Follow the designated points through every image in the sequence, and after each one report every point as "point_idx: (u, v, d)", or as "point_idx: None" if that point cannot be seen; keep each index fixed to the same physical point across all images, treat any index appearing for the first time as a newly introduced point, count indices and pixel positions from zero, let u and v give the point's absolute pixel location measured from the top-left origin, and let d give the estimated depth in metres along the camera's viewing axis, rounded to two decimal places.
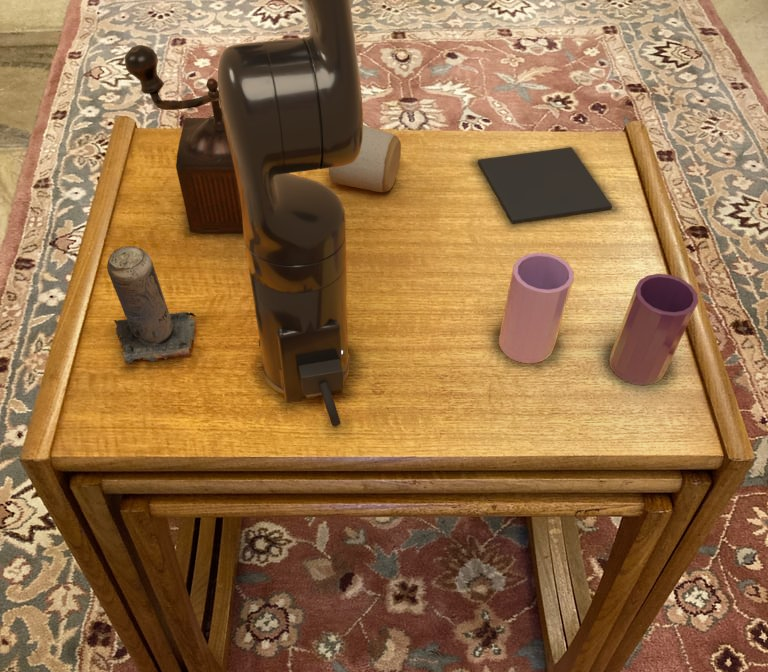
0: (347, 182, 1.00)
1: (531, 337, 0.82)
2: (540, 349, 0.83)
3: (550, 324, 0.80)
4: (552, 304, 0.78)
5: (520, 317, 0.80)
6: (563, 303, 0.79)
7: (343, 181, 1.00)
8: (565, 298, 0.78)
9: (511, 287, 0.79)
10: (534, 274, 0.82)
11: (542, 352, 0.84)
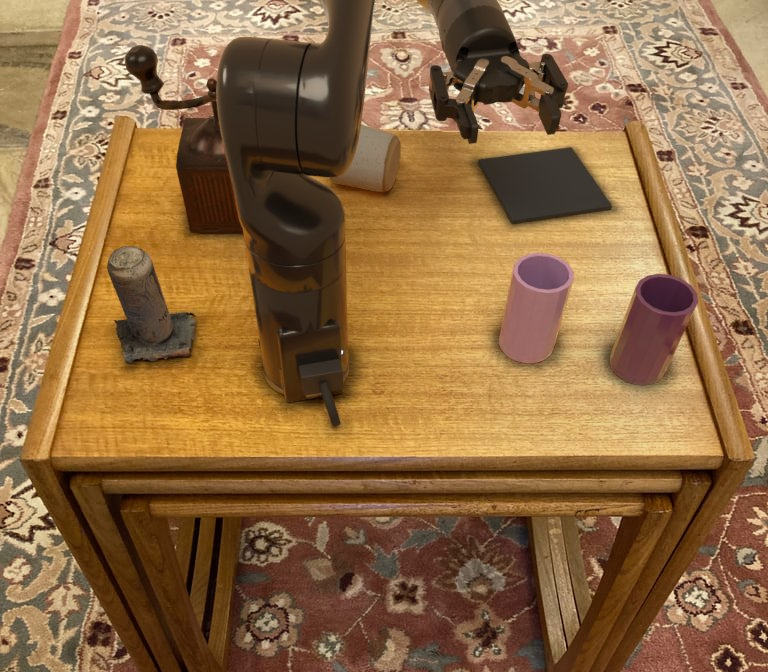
0: (347, 182, 1.00)
1: (531, 337, 0.82)
2: (540, 349, 0.83)
3: (550, 324, 0.80)
4: (552, 304, 0.78)
5: (520, 317, 0.80)
6: (563, 303, 0.79)
7: (343, 181, 1.00)
8: (565, 298, 0.78)
9: (511, 287, 0.79)
10: (534, 274, 0.82)
11: (542, 352, 0.84)
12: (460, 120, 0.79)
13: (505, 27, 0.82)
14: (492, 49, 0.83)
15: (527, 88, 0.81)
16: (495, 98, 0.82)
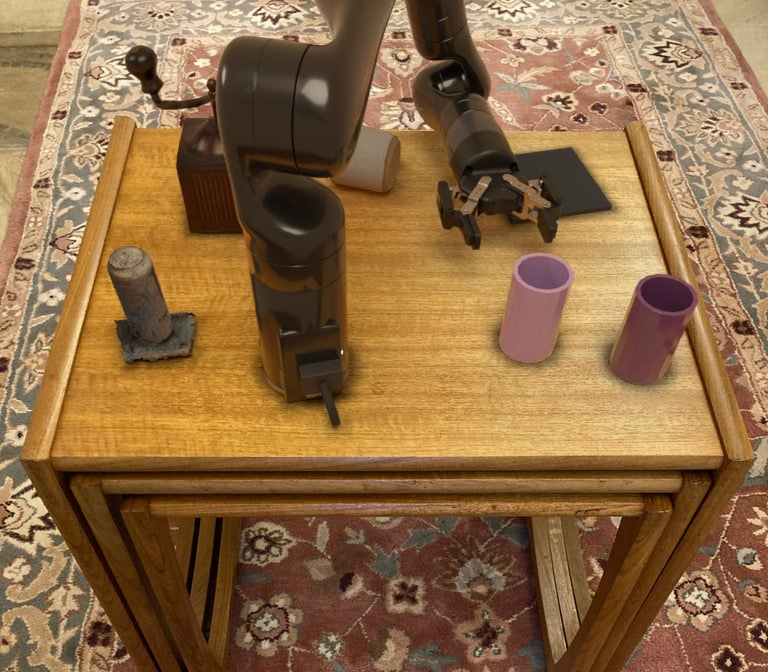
0: (347, 182, 1.00)
1: (531, 337, 0.82)
2: (540, 349, 0.83)
3: (550, 324, 0.80)
4: (552, 304, 0.78)
5: (520, 317, 0.80)
6: (563, 303, 0.79)
7: (343, 181, 1.00)
8: (565, 298, 0.78)
9: (511, 287, 0.79)
10: (534, 274, 0.82)
11: (542, 352, 0.84)
12: (464, 229, 0.86)
13: (506, 149, 0.90)
14: (495, 167, 0.91)
15: (526, 202, 0.89)
16: (497, 210, 0.89)
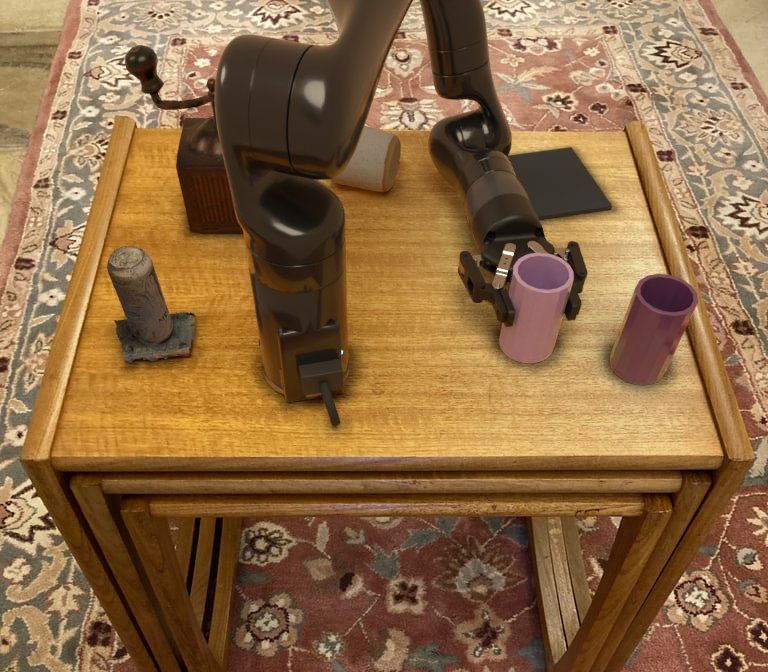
0: (347, 182, 1.00)
1: (531, 337, 0.82)
2: (540, 349, 0.83)
3: (550, 324, 0.80)
4: (552, 304, 0.78)
5: (520, 317, 0.80)
6: (563, 303, 0.79)
7: (343, 181, 1.00)
8: (565, 298, 0.78)
9: (511, 287, 0.79)
10: (534, 274, 0.82)
11: (542, 352, 0.84)
12: (496, 305, 0.80)
13: (531, 214, 0.85)
14: (519, 233, 0.85)
15: None
16: None
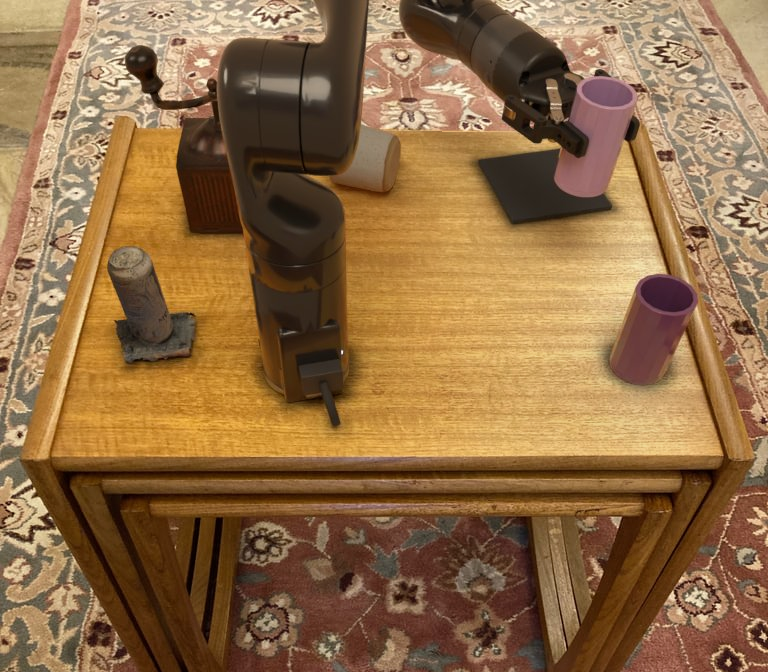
0: (347, 182, 1.00)
1: (600, 165, 0.81)
2: (606, 178, 0.83)
3: (618, 146, 0.81)
4: (624, 122, 0.78)
5: (591, 145, 0.80)
6: None
7: (343, 181, 1.00)
8: None
9: (578, 115, 0.78)
10: None
11: (606, 181, 0.84)
12: (565, 137, 0.79)
13: None
14: (549, 70, 0.84)
15: None
16: (567, 114, 0.83)
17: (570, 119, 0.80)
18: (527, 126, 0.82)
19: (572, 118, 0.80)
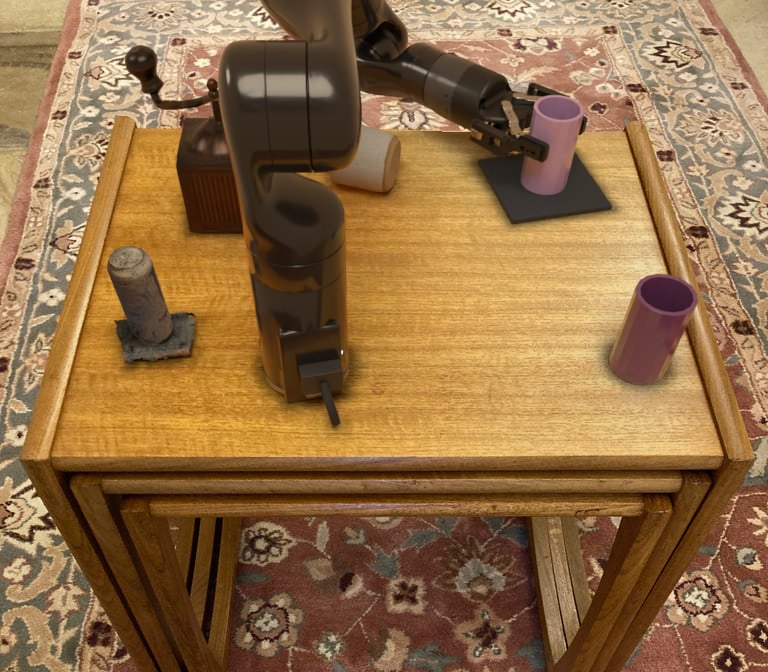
0: (347, 182, 1.00)
1: (563, 166, 0.98)
2: (567, 175, 1.00)
3: (574, 149, 0.98)
4: (578, 129, 0.95)
5: (555, 152, 0.96)
6: None
7: (343, 181, 1.00)
8: None
9: (541, 130, 0.95)
10: None
11: (567, 178, 1.01)
12: (529, 148, 0.95)
13: (499, 74, 0.99)
14: (497, 93, 1.00)
15: None
16: (524, 126, 0.99)
17: (533, 135, 0.96)
18: (493, 144, 0.97)
19: (535, 134, 0.96)
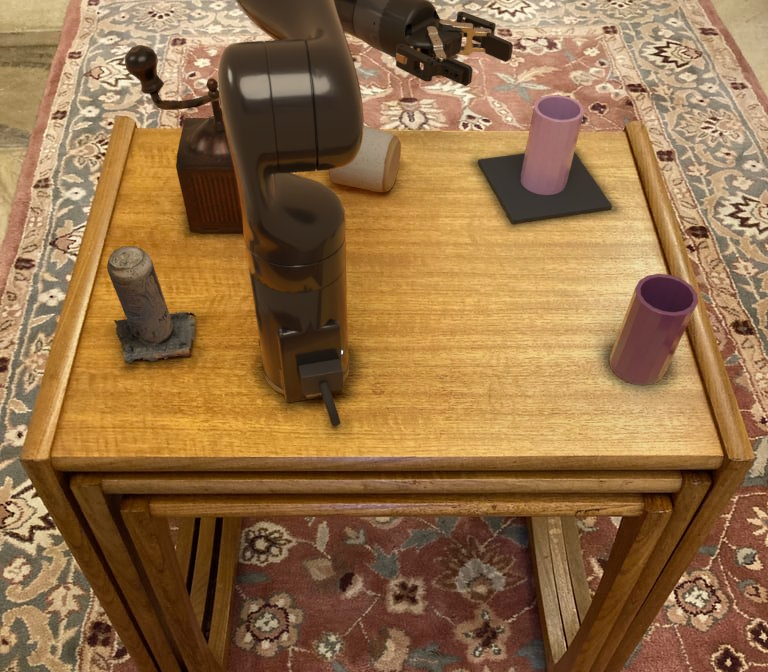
0: (347, 182, 1.00)
1: (563, 166, 0.98)
2: (567, 175, 1.00)
3: (574, 149, 0.98)
4: (578, 129, 0.95)
5: (555, 152, 0.96)
6: None
7: (343, 181, 1.00)
8: None
9: (541, 130, 0.95)
10: None
11: (567, 178, 1.01)
12: (452, 70, 0.95)
13: (426, 0, 1.00)
14: (425, 20, 1.00)
15: (469, 36, 1.00)
16: (450, 53, 1.00)
17: (533, 135, 0.96)
18: (418, 68, 0.97)
19: (535, 134, 0.96)
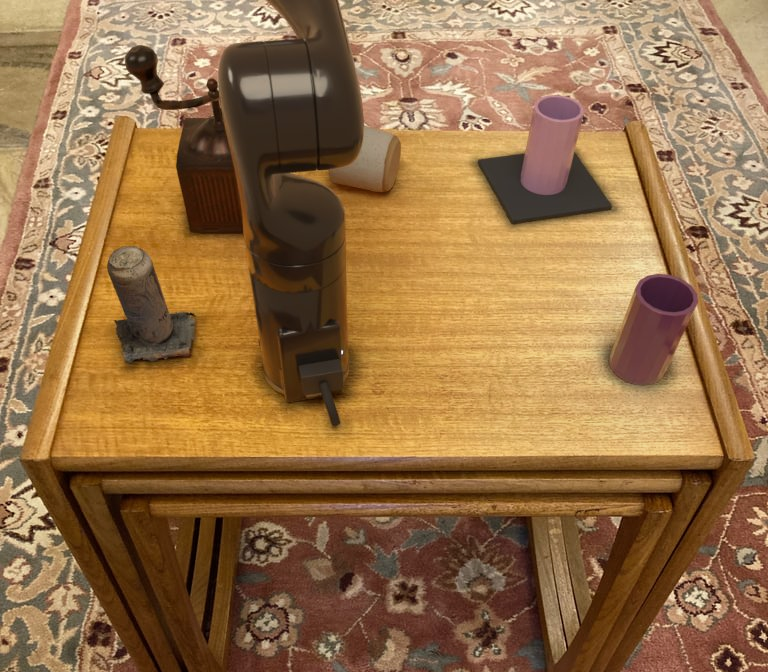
0: (347, 182, 1.00)
1: (563, 166, 0.98)
2: (567, 175, 1.00)
3: (574, 149, 0.98)
4: (578, 129, 0.95)
5: (555, 152, 0.96)
6: None
7: (343, 181, 1.00)
8: None
9: (541, 130, 0.95)
10: None
11: (567, 178, 1.01)
12: None
13: None
14: None
15: None
16: None
17: (533, 135, 0.96)
18: None
19: (535, 134, 0.96)
